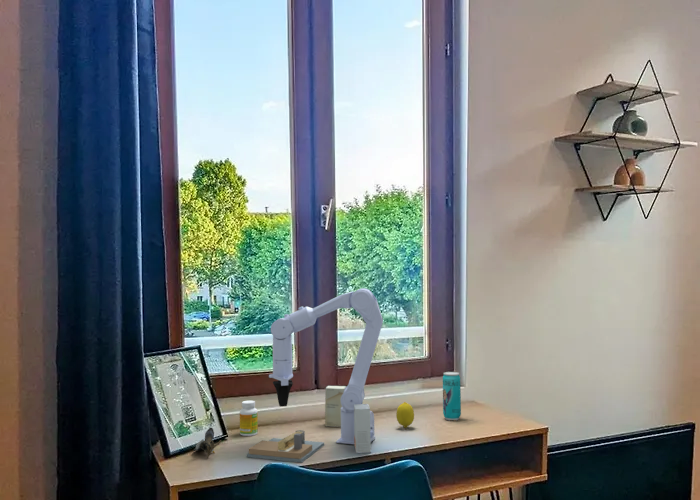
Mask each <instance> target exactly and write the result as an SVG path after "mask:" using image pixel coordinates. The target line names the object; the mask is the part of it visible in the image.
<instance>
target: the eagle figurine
mask: <svg viewBox="0 0 700 500" xmlns="http://www.w3.org/2000/svg"><path fill="white" fill-rule="evenodd" d="M214 437H215V430H214V428H213V427H209V428H208V429H207V430H206V432H205V434H204V438H203V439H201V440H199V441H198V442H196V445H195V448H194V449H193V452H196V451H195V450H197V451H201V450H202V451H204V452H205V453H206V458H207V459H209V457H210V456H211V454H216V452H215V448H216V447H217V446H219V445H220V444H221V443H222V439H220V440H219V441H218V442H216V444H215V443H214ZM203 449H204V450H203Z"/></svg>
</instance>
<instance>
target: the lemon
mask: <svg viewBox="0 0 700 500" xmlns="http://www.w3.org/2000/svg"><path fill="white" fill-rule="evenodd" d="M414 419H415V412H414V408H413V407H412V405H411V404H410V403H408V402H406V401H404V402H403V403H400V405H398V407H397V409H396V421H397V423H398V424H399V425H400V426H402V427H403V428H404V429H407V428H408V427H409V426H410V425H412V423H413V422H414V421H415V420H414Z"/></svg>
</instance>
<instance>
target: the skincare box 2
mask: <svg viewBox="0 0 700 500" xmlns="http://www.w3.org/2000/svg"><path fill="white" fill-rule="evenodd" d="M370 411H371V408H370V405H369V404H368V403H362V404H354V444H353V445H354V449H355V453H356V454H368V453H371V452H372V451H371V450H372V448H371V447H372V446H371V443H372V442H371V440H370Z"/></svg>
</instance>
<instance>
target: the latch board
mask: <svg viewBox="0 0 700 500" xmlns="http://www.w3.org/2000/svg"><path fill="white" fill-rule="evenodd" d="M282 439H283V438H281V437H280V438H278V437H273V438H270V439H269V440H261V441H260V442H258V443H256V444H255V445H253V446H251V447H249V448H248V452H247V453H246V458H253V459H260V460H261V459H264V460H272V461H273V460H274V461H284V462H290V463H291V462H293V463H304V461H306V460H307V459H308V458H310V457H311V456H312V455H313V454H315V453H316V452H317V451H319V450H320V449H322V448H323V447H324V446H325V442H323V441H312V440H305V444H302V434H299V433H296V434H295V435H294V445H293V446H291V447H289V448H288V449H286V450H278V442H279V441H280V440H282Z"/></svg>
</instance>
